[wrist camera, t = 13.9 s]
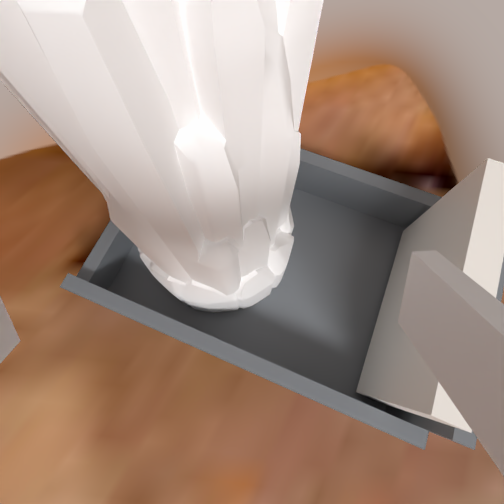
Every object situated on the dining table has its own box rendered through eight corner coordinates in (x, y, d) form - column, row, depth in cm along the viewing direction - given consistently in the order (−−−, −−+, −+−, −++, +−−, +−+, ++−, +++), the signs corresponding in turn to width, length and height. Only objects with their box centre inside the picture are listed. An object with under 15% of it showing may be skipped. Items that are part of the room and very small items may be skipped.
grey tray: (94, 299, 26) (17, 270, 17) (184, 142, 30) (158, 59, 22) (390, 431, 23) (470, 473, 14) (440, 234, 27) (522, 179, 19)
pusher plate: (355, 392, 22) (430, 415, 13) (402, 231, 26) (487, 158, 17) (386, 405, 22) (486, 439, 13) (429, 241, 26) (531, 172, 16)
